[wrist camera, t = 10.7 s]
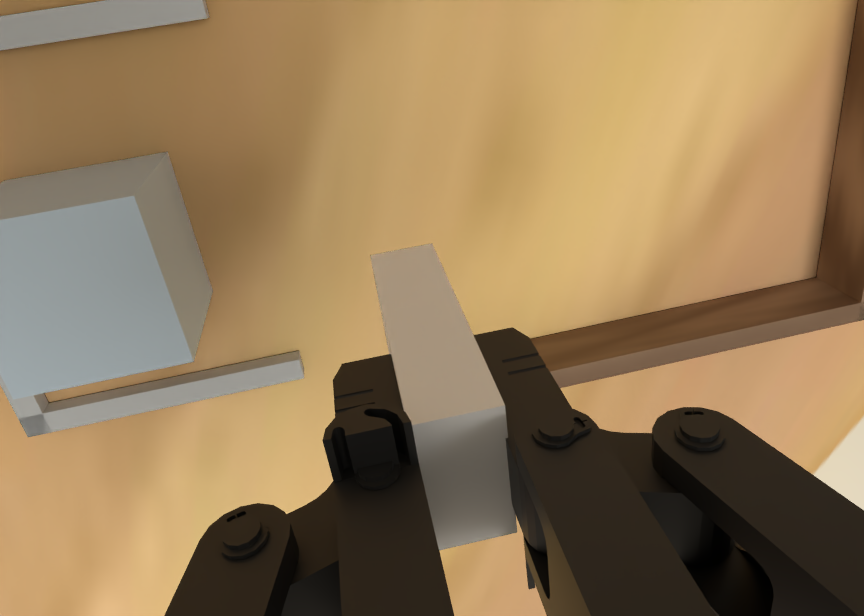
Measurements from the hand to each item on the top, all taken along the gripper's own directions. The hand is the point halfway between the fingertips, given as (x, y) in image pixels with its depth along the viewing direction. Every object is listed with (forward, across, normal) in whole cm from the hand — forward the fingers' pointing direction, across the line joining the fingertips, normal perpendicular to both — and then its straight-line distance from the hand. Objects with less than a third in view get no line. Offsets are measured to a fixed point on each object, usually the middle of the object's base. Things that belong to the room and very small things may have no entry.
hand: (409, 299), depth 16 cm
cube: (+12, -10, -1) cm, 16 cm away
